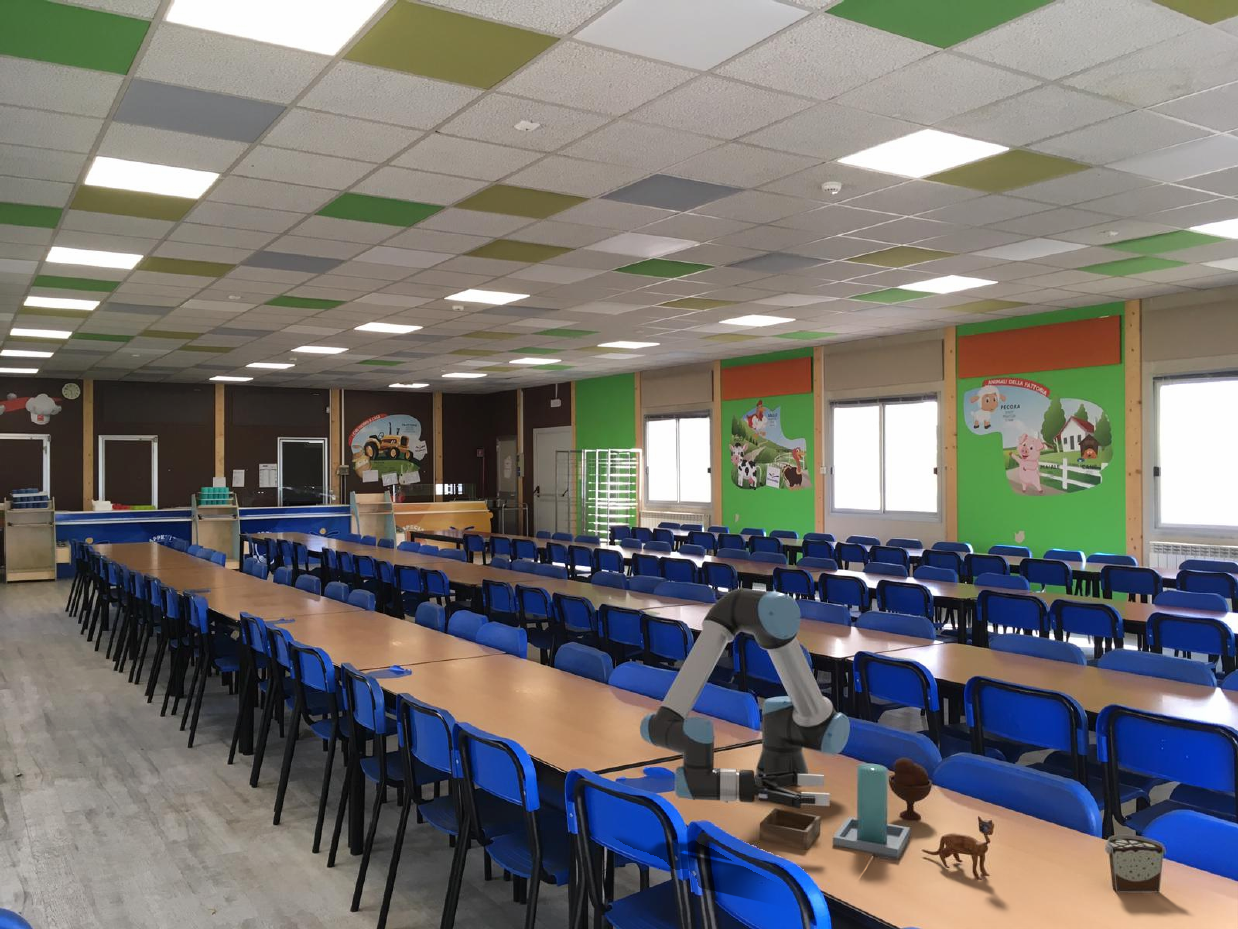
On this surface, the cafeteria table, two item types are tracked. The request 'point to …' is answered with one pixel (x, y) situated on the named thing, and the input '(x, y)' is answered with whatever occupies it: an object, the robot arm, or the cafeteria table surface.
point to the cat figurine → (966, 847)
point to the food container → (1135, 863)
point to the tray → (890, 850)
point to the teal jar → (872, 803)
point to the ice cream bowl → (910, 785)
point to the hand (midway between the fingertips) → (826, 790)
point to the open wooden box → (790, 828)
